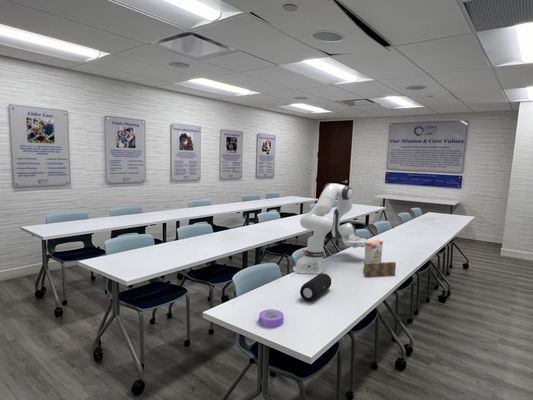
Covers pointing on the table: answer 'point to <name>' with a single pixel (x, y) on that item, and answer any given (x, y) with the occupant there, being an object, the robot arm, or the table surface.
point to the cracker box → (373, 252)
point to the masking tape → (271, 318)
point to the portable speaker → (315, 287)
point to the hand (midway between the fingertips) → (362, 246)
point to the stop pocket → (379, 269)
